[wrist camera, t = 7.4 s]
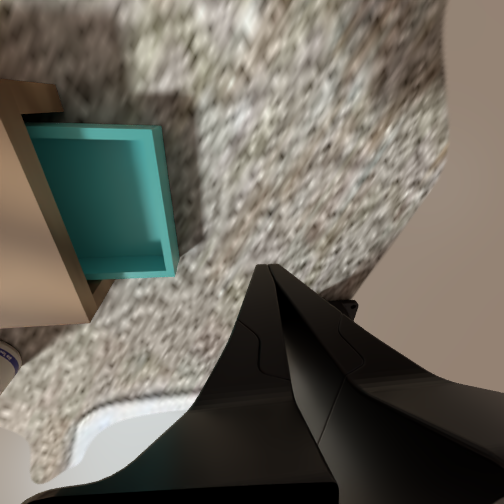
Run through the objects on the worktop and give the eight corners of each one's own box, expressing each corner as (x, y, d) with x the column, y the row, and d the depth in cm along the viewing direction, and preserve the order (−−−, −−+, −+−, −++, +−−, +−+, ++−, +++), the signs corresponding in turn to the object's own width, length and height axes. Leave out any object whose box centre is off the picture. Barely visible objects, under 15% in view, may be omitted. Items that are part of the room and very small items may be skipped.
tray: (179, 257, 19) (174, 276, 17) (5, 263, 17) (-23, 284, 15) (161, 125, 14) (151, 129, 12) (-79, 118, 13) (-136, 121, 11)
